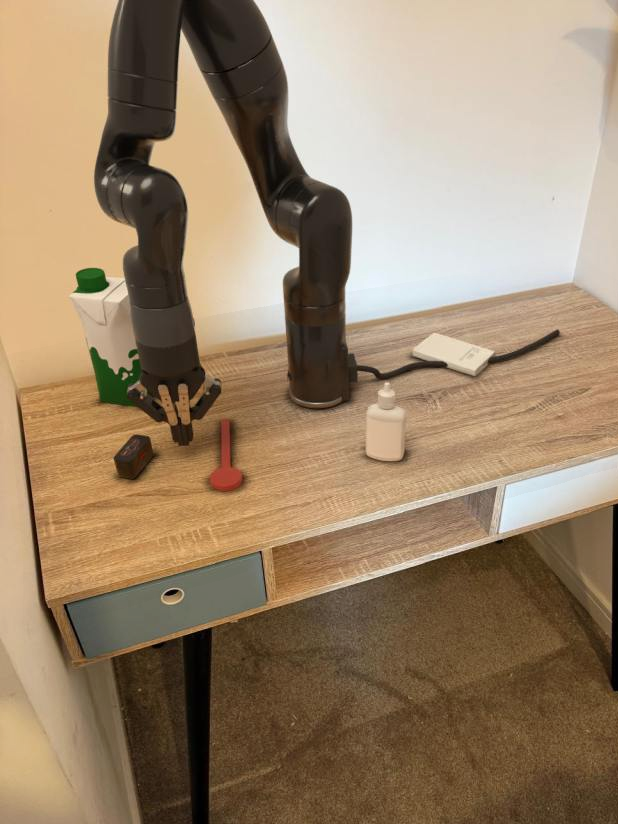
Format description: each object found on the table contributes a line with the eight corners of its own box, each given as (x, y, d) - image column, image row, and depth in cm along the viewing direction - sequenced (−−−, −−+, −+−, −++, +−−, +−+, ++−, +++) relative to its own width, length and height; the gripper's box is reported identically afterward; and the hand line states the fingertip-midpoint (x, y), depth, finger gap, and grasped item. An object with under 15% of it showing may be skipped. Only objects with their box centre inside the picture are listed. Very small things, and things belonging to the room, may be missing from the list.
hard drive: (434, 339, 137) (495, 358, 132) (411, 357, 131) (474, 377, 126) (434, 331, 135) (496, 350, 131) (412, 349, 130) (475, 369, 125)
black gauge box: (158, 451, 108) (154, 433, 106) (135, 481, 103) (130, 462, 101) (129, 447, 109) (124, 428, 107) (104, 475, 104) (99, 457, 101)
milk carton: (117, 376, 124) (89, 259, 111) (168, 383, 123) (146, 266, 110) (92, 404, 117) (59, 283, 104) (145, 411, 116) (118, 290, 103)
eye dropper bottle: (389, 469, 106) (392, 397, 98) (360, 453, 109) (361, 382, 101) (408, 455, 109) (413, 385, 101) (380, 440, 112) (382, 370, 104)
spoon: (240, 422, 114) (239, 417, 114) (242, 489, 102) (242, 484, 101) (211, 424, 114) (210, 419, 113) (210, 492, 101) (209, 487, 101)
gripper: (107, 347, 90) (134, 462, 101) (217, 341, 92) (232, 454, 103) (113, 320, 96) (138, 431, 107) (217, 315, 98) (231, 425, 109)
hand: (184, 442), depth 105 cm, fingers closed
